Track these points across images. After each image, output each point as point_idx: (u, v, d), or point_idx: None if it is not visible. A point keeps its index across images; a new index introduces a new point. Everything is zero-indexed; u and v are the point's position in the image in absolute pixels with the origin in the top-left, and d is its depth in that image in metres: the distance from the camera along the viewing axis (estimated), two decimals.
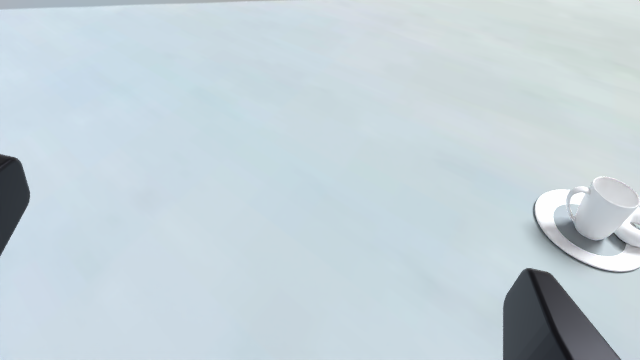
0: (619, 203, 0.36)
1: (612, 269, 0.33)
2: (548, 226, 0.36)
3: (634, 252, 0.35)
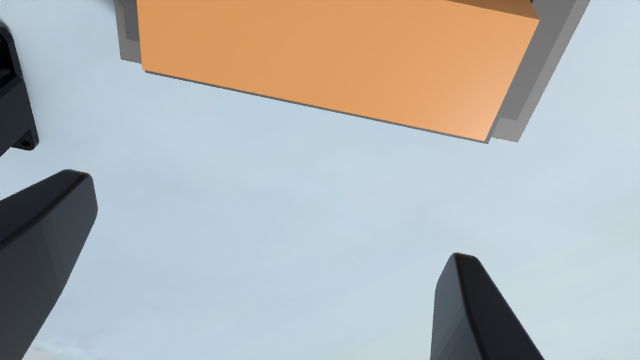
0: None
1: None
2: None
3: None
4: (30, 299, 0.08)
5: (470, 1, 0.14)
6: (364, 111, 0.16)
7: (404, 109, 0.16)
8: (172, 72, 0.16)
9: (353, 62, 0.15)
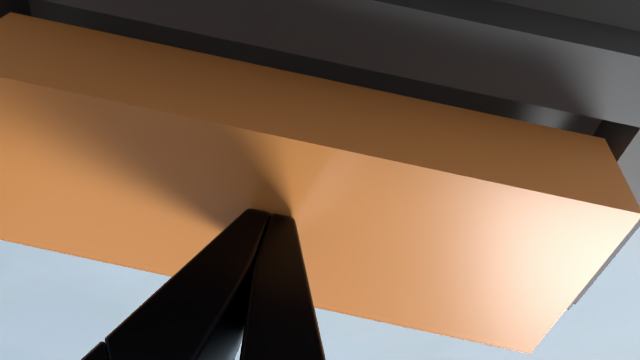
0: None
1: None
2: None
3: None
4: (232, 343, 0.08)
5: (520, 176, 0.08)
6: (342, 308, 0.10)
7: (405, 310, 0.10)
8: (43, 245, 0.10)
9: (322, 250, 0.09)
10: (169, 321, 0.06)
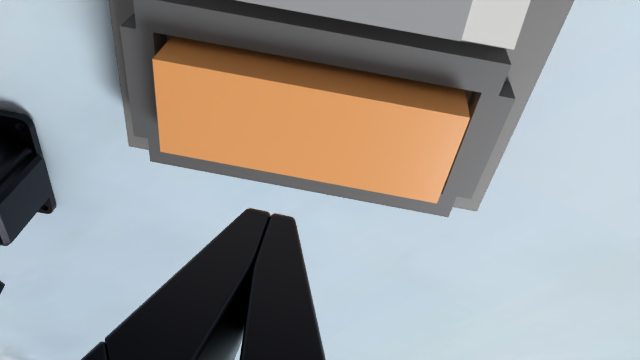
0: None
1: None
2: None
3: None
4: (232, 343, 0.08)
5: (416, 103, 0.17)
6: (339, 181, 0.20)
7: (371, 180, 0.19)
8: (184, 153, 0.20)
9: (328, 146, 0.19)
10: (169, 321, 0.06)
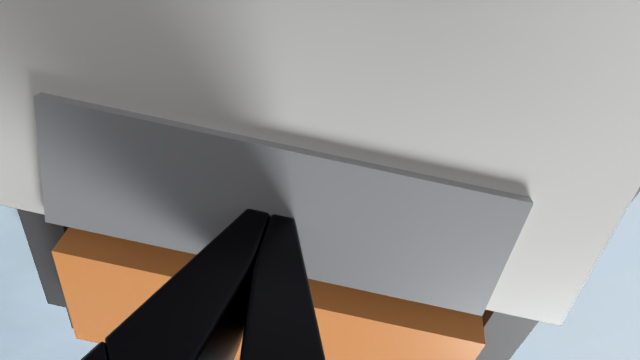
0: None
1: None
2: None
3: None
4: (232, 343, 0.08)
5: (413, 318, 0.13)
6: None
7: None
8: None
9: None
10: (169, 321, 0.06)
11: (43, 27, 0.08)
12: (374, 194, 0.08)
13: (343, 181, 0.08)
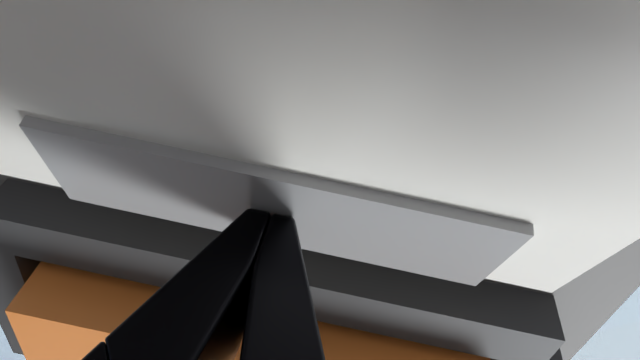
0: None
1: None
2: None
3: None
4: (232, 343, 0.08)
5: None
6: None
7: None
8: None
9: None
10: (169, 321, 0.06)
11: (2, 69, 0.07)
12: (370, 214, 0.08)
13: (339, 204, 0.08)
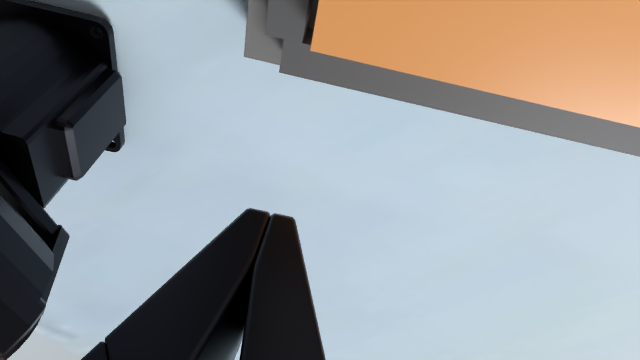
0: None
1: None
2: None
3: None
4: (232, 343, 0.08)
5: None
6: (549, 101, 0.15)
7: (595, 99, 0.14)
8: (343, 54, 0.15)
9: (552, 46, 0.14)
10: (169, 321, 0.06)
11: None
12: None
13: None
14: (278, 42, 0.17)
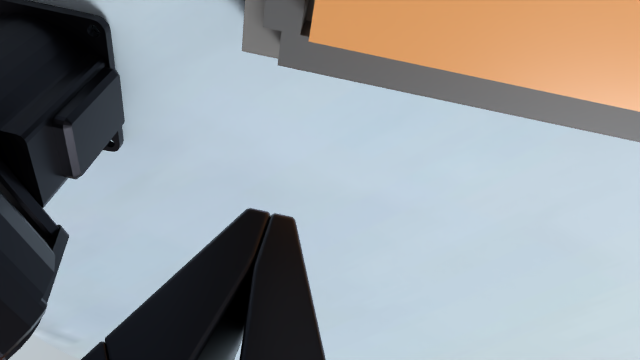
0: None
1: None
2: None
3: None
4: (232, 343, 0.08)
5: None
6: (549, 87, 0.15)
7: (595, 84, 0.14)
8: (342, 44, 0.15)
9: (551, 31, 0.14)
10: (169, 321, 0.06)
11: None
12: None
13: None
14: (276, 35, 0.17)
